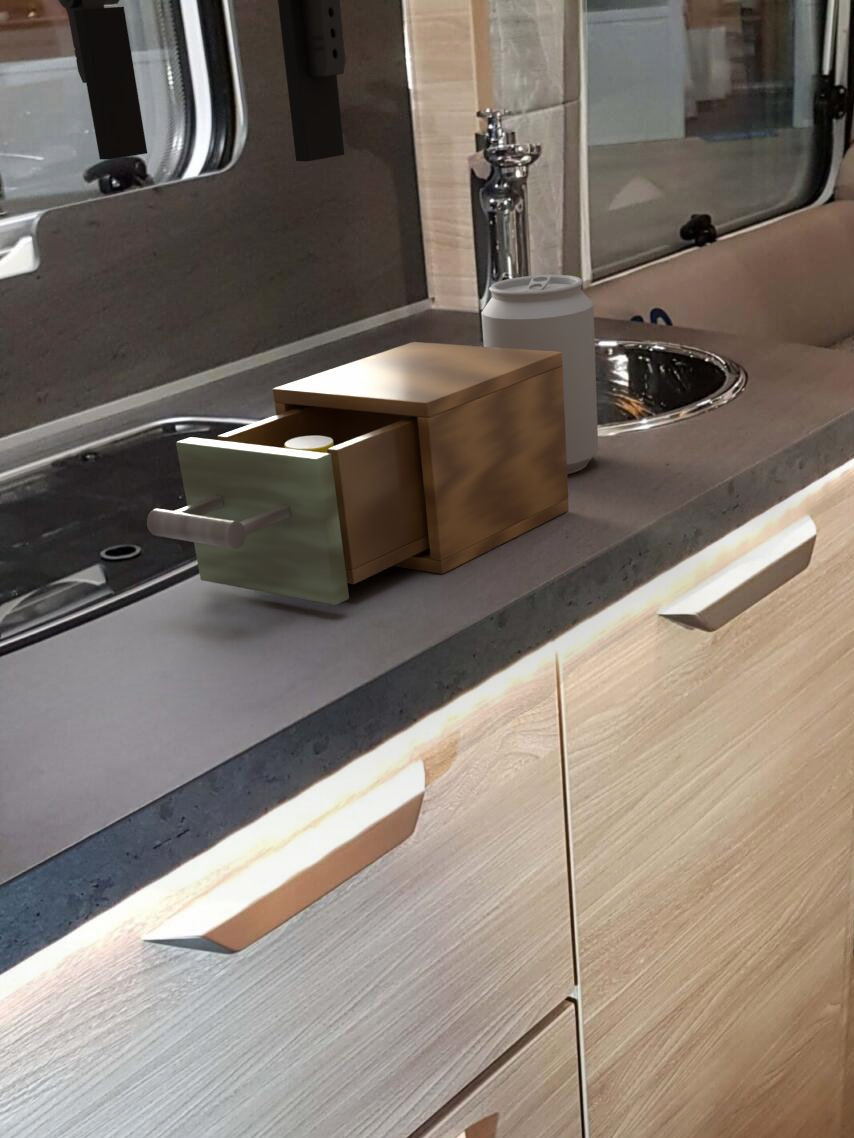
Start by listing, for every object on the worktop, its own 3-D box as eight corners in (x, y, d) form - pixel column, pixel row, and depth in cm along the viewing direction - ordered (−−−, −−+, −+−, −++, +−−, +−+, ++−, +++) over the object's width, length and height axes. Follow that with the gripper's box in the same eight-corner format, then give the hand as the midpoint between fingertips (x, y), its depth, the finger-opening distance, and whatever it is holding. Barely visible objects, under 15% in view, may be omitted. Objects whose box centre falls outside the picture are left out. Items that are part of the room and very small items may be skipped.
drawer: (273, 636, 81) (249, 485, 77) (136, 608, 87) (107, 465, 82) (469, 540, 93) (459, 404, 88) (338, 520, 98) (322, 391, 94)
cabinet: (442, 574, 91) (426, 402, 85) (295, 550, 97) (271, 388, 91) (569, 510, 99) (562, 351, 94) (427, 492, 105) (413, 341, 100)
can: (478, 480, 107) (464, 291, 100) (510, 451, 113) (498, 271, 106) (583, 481, 105) (575, 289, 98) (609, 452, 111) (604, 268, 104)
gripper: (424, -457, 62) (461, 149, 74) (14, -357, 74) (102, 147, 86) (301, -486, 57) (362, 168, 69) (-116, -373, 69) (-4, 164, 81)
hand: (218, 158), depth 78 cm, fingers open, 13 cm apart
